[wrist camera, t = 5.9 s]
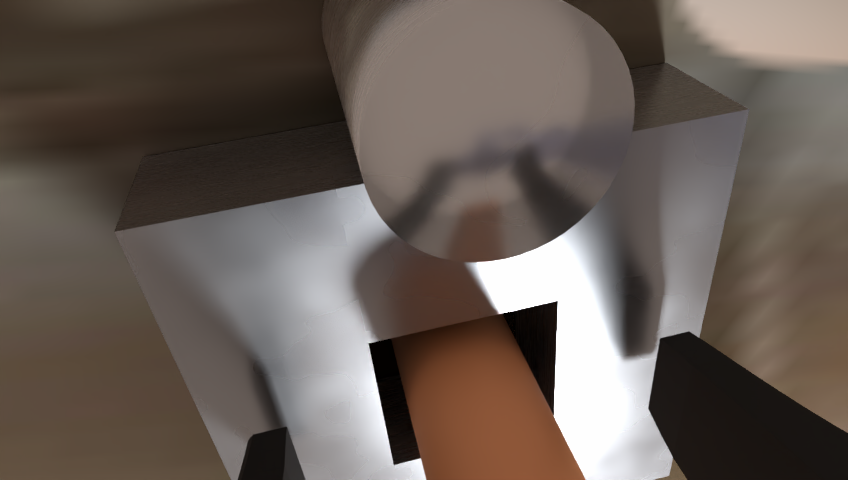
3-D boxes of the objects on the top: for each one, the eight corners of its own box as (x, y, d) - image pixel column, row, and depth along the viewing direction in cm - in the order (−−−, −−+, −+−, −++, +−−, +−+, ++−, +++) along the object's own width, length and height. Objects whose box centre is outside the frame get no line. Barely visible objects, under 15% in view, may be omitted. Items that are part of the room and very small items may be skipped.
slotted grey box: (689, -114, 10) (971, -80, 6) (622, 401, 18) (729, 571, 14) (69, -25, 9) (-92, 89, 5) (277, 488, 16) (281, 703, 12)
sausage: (484, 257, 14) (607, 489, 9) (503, 337, 15) (617, 574, 10) (374, 294, 14) (435, 550, 9) (404, 371, 15) (470, 627, 10)
